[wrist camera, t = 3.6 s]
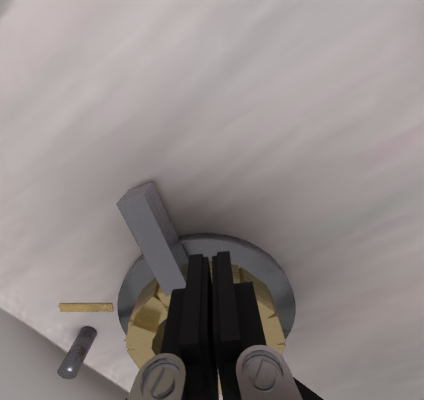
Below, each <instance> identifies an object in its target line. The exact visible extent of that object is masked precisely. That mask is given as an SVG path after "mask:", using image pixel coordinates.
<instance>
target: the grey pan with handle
mask: <svg viewBox="0 0 424 400" xmlns="http://www.w3.org/2000/svg"><path fill="white" fill-rule="evenodd" d="M117 206H118V208H119V210H120V212H121V214H122V216H123V217H124V219H125V221H126V223H127V225H128V227H129V229H130V231H131V232H132V234H133V236H134V238H135V240H136V242H137V244H138V245H139V247H140V249H141V251H142V253H143V255H144V257H145V259H146V260H147V262H148V264H149V266H150V268H151V270H152V272H153V274H154V275H155V277H154V278H153V279H152V280H151V281H150V282H149V283H148V284H147V286H146V287H145V288H144V289H143V290H142V291H141V292H140V294H139V296H138V299H137V301H136V304H135V306H134V309H133V312H132V314H131V317H130V320H129V322H128V333H127V336H126V338H125V341H126V342H127V344H126V348H128V350H127V352H128V353H129V355H130V356H131V358H132V359H133V361H134V362H135V364H136V365H137V366H138V368H139V369H140V368H141V367H142V366H143V365H144V364H145V363H146V362H147V361H148V360H149V359H151V358H152V357H154V356H156V355H159V354H160V352H161V346H162V341H163V336H164V328H163V326H162V325H161V323H162V322H163V321H164V320H165V319H166V318H167V314H168V309H169V304H170V299H171V293H172V290H173V289H181V288H185V287H186V279H187V271H188V263H189V260H188V258H187V256H186V253H185V251H184V249H183V247H182V245H181V242H180V240H179V238H178V236H177V234H176V231H175V229H174V227H173V225H172V223H171V220H170V218H169V216H168V214H167V212H166V209H165V207H164V205H163V203H162V201H161V198H160V196H159V194H158V192H157V190H156V187H155V185H154V183H153V182H151V183H148V184H145V185H142V186H139V187H136V188H133V189H130V190H129V191H128V192H127V193H126V194H125V195H124V196H123V197H122V198H121V199H120V200H119V202H118V203H117ZM209 265H210V272H211V278H212V261H209ZM231 266H232V274H233V282H234V283H242V282H252V283H253V286H254V291H255V295H256V299H257V304H258V308H259V313H260V317H261V322H262V326H263V330H264V335H265V339H266V344H267V346H269V347H271V348H273V349H275V350H276V351H277V352H279V353H280V354H282V352H283V350H284V348H285V342H286V341H285V338H284V334H283V331H282V328H281V324H280V321H279V317H278V314H277V310H276V307H275V304H274V301H273V298H272V295H271V292H270V289H268V286H267V285H265V284H264V283H263V282H261V281H260V280H259V279H257V278H256V277H255V276H253V275H252V274H251V273H249V272H248V271H247V270H245V269H244V268H243V267H242V268H241V269H240V270H239V268H238V265H233V264H231ZM218 390H219V394H222V390H221V384H220V379H219V380H218Z"/></svg>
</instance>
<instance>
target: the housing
mask: <svg viewBox="0 0 424 400" xmlns="http://www.w3.org/2000/svg"><path fill="white" fill-rule="evenodd" d="M178 238H179V240H180V242H181V245H182V247H183V249H184V251H185V253H186V256H187V258H188V260H189V256H190V255H193V254H203V257H208V258H209V261H212V256H217V252H222V251H230V258H231V264H233V265H238V268H239V270H240V269H241V268H242V267H243V268H244V269H245V270H247V271H248V272H249V273H251V274H252V275H253V276H255V277H256V278H257V279H259V280H260V281H261V282H263V283H264V284H265V285H267V286H268V289H270V292H271V295H272V298H273V301H274V304H275V307H276V310H277V314H278V317H279V321H280V324H281V328H282V331H283V334H284V338H285V339H286V338H287V336H288V334H289V333H290V331H291V328H292V326H293V323H294V318H295V299H294V295H293V292H292V289H291V287H290V284H289V282H288V279H287V277H286V275H285V273H284V272H283V270H282V268H281V267H280V266H279V265H278V263H277V262H276V261H275V260H274V259H273V258H272V257H271V256H270V255H269V254H267V253H266V252H264V251H263V250H261V249H260V248H259V247H257V246H255V245H253V244H251V243H249V242H246V241H244V240H241V239H238V238H235V237H230V236H226V235H219V234H191V235H185V236H180V237H178ZM154 277H155V275H154V274H153V272H152V270H151V268H150V266H149V264H148V262H147V260H146V259H145V257H144V255H142V256H141V257H140V258H139V259H138V260H137V261H136V262H135V264H134V265H133V266H132V267H131V269H130V271H129V273H128V274H127V276H126V278H125V280H124V282H123V284H122V287H121V290H120V293H119V297H118V316H119V321H120V323H121V326H122V329H123V330H124V332H125V334H126V336H127V333H128V322H129V320H130V317H131V314H132V312H133V309H134V306H135V304H136V301H137V299H138V296H139V294H140V292H141V291H142V290H143V289H144V288H145V287H146V286H147V284H148V283H149V282H150V281H151V280H152V279H153V278H154ZM59 308H60V311H61V312H113V306H112V304H59ZM166 320H167V318H166V319H165V320H164V321H163V322H162V323H161V325H162V326H163V328H164V330H165V325H166ZM96 335H97V332H96V330H95V329H94V328H92V327H83V328H82V329H81V331H80V332H79V334H78V336H77V338H76V339H75V341H74V343H73V345H72V346H71V348H70V350H69V352H68V353H67V356H66V357H65V359H64V361H63V362H62V364H61V366H60V367H59V369H58V374H59V375H60V376H61V377H63V378H65V379H73V378H75V377H76V375H77V373H78V371H79V369H80V367H81V365H82V363H83V361H84V359H85V357H86V355H87V353H88V351H89V349H90V347H91V345H92V343H93V341H94V339H95V337H96ZM219 379H220V378H219V372H218V380H219Z"/></svg>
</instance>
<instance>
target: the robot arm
mask: <svg viewBox="0 0 424 400" xmlns="http://www.w3.org/2000/svg"><path fill="white" fill-rule="evenodd" d="M218 372H219V378H220V384H221V390H222V396H223V400H323V399H322V398H321V397H319V396H318V395H317V394H315V393H314V392H313V391H311V390H310V389H308V388H307V387H306V386H304V385H303V384H302V383H300V382H299V381H298V380H296V379H295V378H294V377H293V376H292V374H291V372H290V369H289V367H288V365H287V363H286V361H285V360H284V358H283V356H282V355H281V354H280V353H279V352H277V351H276V350H275V349H273V348H271V347H269V346H267V344H266V339H265V335H264V330H263V326H262V322H261V317H260V313H259V308H258V304H257V299H256V295H255V291H254V286H253V283H252V282H242V283H234V282H233V274H232V266H231V258H230V251H222V252H217V256H212V278H211V272H210V265H209V258H208V257H203V254H193V255H190V256H189V263H188V271H187V279H186V287H185V288H181V289H173V290H172V293H171V299H170V304H169V309H168V314H167V320H166V325H165V330H164V336H163V341H162V346H161V352H160V354H159V355H156V356H154V357H152V358H151V359H149V360H148V361H147V362H146V363H145V364H144V365H143V366H142V367H141V368H140V370H139V372H138V374H137V376H136V378H135V381H134V383H133V386H132V388H131V391H130V393H129V396H128V398H127V399H126V400H219V390H218Z"/></svg>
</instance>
